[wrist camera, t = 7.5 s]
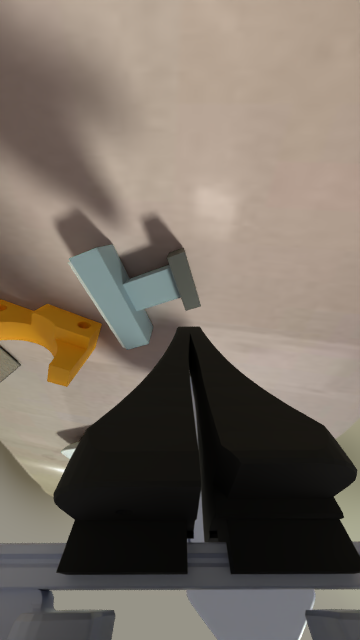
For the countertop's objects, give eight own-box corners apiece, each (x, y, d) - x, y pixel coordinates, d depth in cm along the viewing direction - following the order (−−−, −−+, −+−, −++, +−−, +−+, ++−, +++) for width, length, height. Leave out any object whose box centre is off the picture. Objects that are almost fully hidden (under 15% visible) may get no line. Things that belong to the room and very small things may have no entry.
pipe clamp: (102, 323, 20) (72, 358, 15) (95, 347, 22) (67, 386, 17) (-5, 283, 18) (-91, 307, 12) (-2, 314, 20) (-75, 347, 14)
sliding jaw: (202, 312, 19) (207, 327, 16) (132, 333, 21) (123, 350, 18) (175, 219, 15) (174, 216, 12) (86, 254, 16) (64, 260, 13)
